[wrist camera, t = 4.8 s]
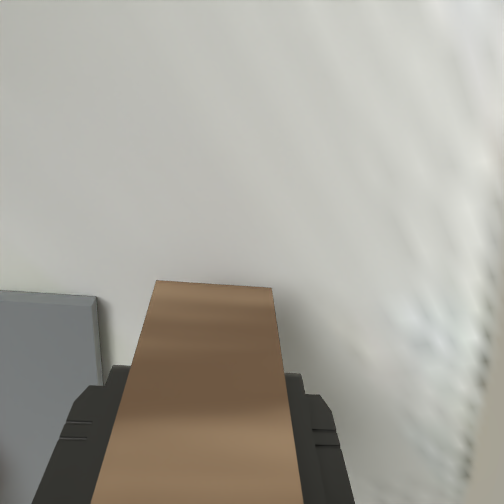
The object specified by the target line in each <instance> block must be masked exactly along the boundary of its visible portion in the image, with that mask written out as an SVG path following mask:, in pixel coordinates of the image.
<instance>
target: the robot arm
mask: <svg viewBox="0 0 504 504" xmlns="http://www.w3.org/2000/svg"><path fill="white" fill-rule="evenodd" d="M130 368H131V366H124V365H113V366H112V368H111V371H110V373H109V376H108V379H107V382H106V385H105V386H96V385H89V386H88V387H87V388H86V389H85V390H84V391H83V392H82V393H81V394H80V395H79V397H78V398H77V399H76V400H75V401H74V402H73V405H72V407H71V410H70V412H69V414H68V417H67V419H66V424H64V426H63V429H62V431H61V434H60V436H59V440H58V441H57V443H56V446H55V448H54V450H53V453H52V455H51V458H50V460H49V462H48V465H47V467H46V470H45V472H44V474H43V477H42V479H41V482H40V484H39V486H38V489H37V491H36V494H35V496H34V498H33V501H32V503H31V504H91V500H92V497H93V494H94V490H95V487H96V483H97V480H98V477H99V473H100V470H101V466H102V463H103V460H104V456H105V453H106V449H107V446H108V443H109V439H110V436H111V432H112V429H113V426H114V422H115V419H116V416H117V412H118V409H119V405H120V402H121V399H122V395H123V392H124V388H125V385H126V382H127V378H128V375H129V371H130ZM284 375H285V382H286V389H287V396H288V402H289V409H290V416H291V422H292V429H293V436H294V443H295V449H296V456H297V463H298V470H299V476H300V483H301V490H302V497H303V503H304V504H355V502H354V498H353V494H352V490H351V486H350V482H349V478H348V474H347V470H346V466H345V462H344V458H343V455H342V451H341V449H340V443H339V439H338V435H337V433H336V427H335V423H334V419H333V415H332V411H331V410H330V408H329V407H328V406H327V404H326V403H325V402H324V400H323V399H322V397H321V396H320V395H311V394H305V391H304V386H303V381H302V377H301V374H296V373H284Z"/></svg>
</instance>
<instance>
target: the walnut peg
mask: <svg viewBox="0 0 504 504" xmlns="http://www.w3.org/2000/svg"><path fill="white" fill-rule="evenodd" d="M91 504H304V503H303V497H302V490H301V483H300V476H299V470H298V463H297V456H296V449H295V443H294V436H293V429H292V422H291V416H290V409H289V402H288V396H287V389H286V382H285V375H284V369H283V362H282V355H281V348H280V342H279V335H278V328H277V321H276V315H275V308H274V301H273V294H272V288H266V287H250V286H235V285H220V284H205V283H189V282H174V281H159V280H156V283H155V286H154V290H153V293H152V297H151V300H150V303H149V307H148V310H147V314H146V317H145V320H144V324H143V327H142V331H141V334H140V337H139V341H138V344H137V348H136V351H135V354H134V358H133V361H132V365H131V368H130V371H129V375H128V378H127V382H126V385H125V388H124V392H123V395H122V399H121V402H120V405H119V409H118V412H117V416H116V419H115V422H114V426H113V429H112V432H111V436H110V439H109V443H108V446H107V449H106V453H105V456H104V460H103V463H102V466H101V470H100V473H99V477H98V480H97V483H96V487H95V490H94V494H93V497H92V500H91Z"/></svg>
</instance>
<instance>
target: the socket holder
mask: <svg viewBox="0 0 504 504" xmlns="http://www.w3.org/2000/svg"><path fill="white" fill-rule="evenodd" d="M89 385H96V386H103V376H102V363H101V351H100V338H99V325H98V312H97V300H96V297H93V296H78V295H63V294H48V293H33V292H17V291H2V290H0V504H31V503H32V501H33V498H34V496H35V494H36V491H37V489H38V486H39V484H40V482H41V479H42V477H43V474H44V472H45V470H46V467H47V465H48V462H49V460H50V458H51V455H52V453H53V450H54V448H55V446H56V443H57V441H58V440H59V436H60V434H61V431H62V429H63V426H64V424H66V419H67V417H68V414H69V412H70V410H71V407H72V405H73V402H74V401H75V400H76V399H77V398H78V397H79V395H80V394H81V393H82V392H83V391H84V390H85V389H86V388H87V387H88V386H89Z"/></svg>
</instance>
